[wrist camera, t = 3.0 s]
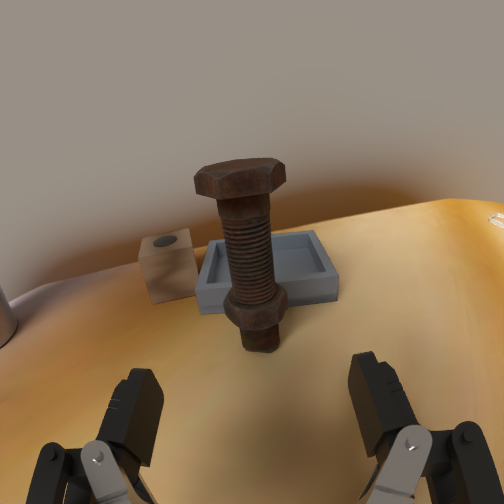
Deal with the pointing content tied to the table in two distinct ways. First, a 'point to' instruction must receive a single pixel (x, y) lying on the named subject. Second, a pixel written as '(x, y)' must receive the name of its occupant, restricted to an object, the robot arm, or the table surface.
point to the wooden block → (169, 266)
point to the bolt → (248, 245)
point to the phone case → (496, 220)
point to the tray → (285, 267)
